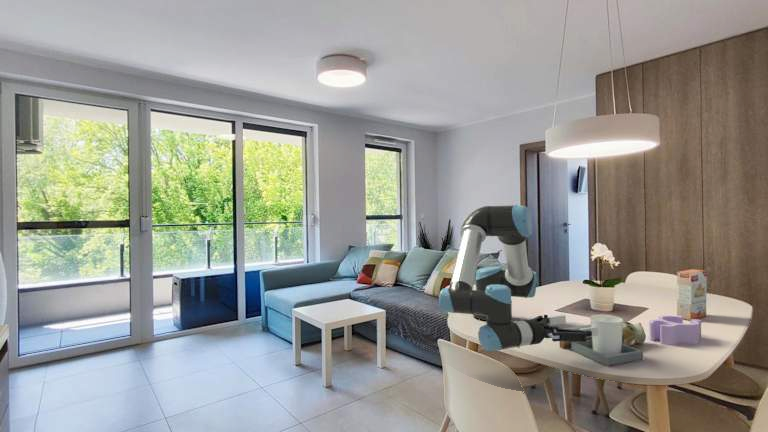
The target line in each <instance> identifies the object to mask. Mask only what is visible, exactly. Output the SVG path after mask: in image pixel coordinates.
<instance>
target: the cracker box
mask: <svg viewBox="0 0 768 432" xmlns="http://www.w3.org/2000/svg"><path fill="white" fill-rule="evenodd" d="M707 271H708V270H707ZM707 271H706V270H703V269H696V268H695V269H693V268H691V269H686V270H680V271H677V273H676V275H677V277H676V278H677V279H676V285H677V286H676V287H677V288H676V289H677V290H676V292H677V293H676V294H677V295H676V316H678V315H681V316H682V317H683V320H686V321H691V319H696V320H699V319H701V318H704V316H705V317H707V285H708V284H707V275H708V274H707Z"/></svg>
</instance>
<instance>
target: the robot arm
mask: <svg viewBox="0 0 768 432" xmlns="http://www.w3.org/2000/svg"><path fill="white" fill-rule="evenodd" d="M459 233H460V234H459V235H460V238H461V239H460V244H459V248H458V251H457V255H456V259H455V262H454V265H453V266H454V267H453V271H452V275H451V280H450V283H449V287H446V288H445V287H444V288H442V289H441V290H440V292H439V295H438V305H439V308H440V310H441V311H442V312H446V313H451V314H463V315H464V314H465V315H472V317H473V316H474V317H476V318H478V319H482V320H486V321H485V322H486V323H485V324H484V325H482V326H480V327H479V328H478V332H477V336H478V338H477V339H478V341H479V344H480V346H481V347H482V349H483V350H485V351H487V352H490V351H491V352H492V351H501V350H506V349H511V348H512V349H513V348H518V349H520V348H521V347H524V346H532V345H539V344H541V343H542V341H544V339H552V340H551V341H552V342H560V341H581V342H586V338H587V337H593V336H598V327H589V328H582V329H579V330H572V329H561V328H560V327H558V326H557V325H562V324H563V325H564V324H566V323H567V321H566V317H567V316H566V315H565V314H561V315H553V316H549V317H548V314H544V315H538V316H536V317H534V318H532V319H525V320H517V321H513V319H512V318H513V317H512V316H513V315H512V312H513V311H512V305H513V304H512V303H513V302H512V301H513V300H512V297H515V298H525V299H528V298H531V299H532V298H534V297H535V296H536V292H537V278H538V276H537V275H538V274H537V272H536V271H533V270H532V269H531V267H530V266H529V261H528V253H527V245H526V244H527V242H526V241H527V239H528V238H529V237H531V236H532V234H533V222H532V215H531V211H530V209H529V208H528V206H526V205H518V204H515V205H513V204H512V205H493V206H492V205H491V206H490V205H487V206H486V205H485V206H481V207H478V208H477V209H475V210H474V211H472V212H471V213H470V214H469V215H468V216H467V217H466V218H465V220H464V221H463V223H462V225H461V228H460V232H459ZM487 237H497V239H498V241H500V243H502V246H503V251H504V252H503V253H504V257H505V262H506V269H505V270H504V269H503V268H502V266H487V267H481V268H479V269H478V265H479V259H480V255H481V254H480V253H481V249H482V245H483V242H485V240H486V238H487ZM474 284H475V285H476V287H475V290H474ZM474 317H473V318H474ZM478 319H477V320H478ZM482 320H481V321H482Z"/></svg>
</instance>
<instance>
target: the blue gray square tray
mask: <svg viewBox="0 0 768 432" xmlns="http://www.w3.org/2000/svg"><path fill="white" fill-rule="evenodd" d="M570 349H571V351H572V352H574V353H576V354H578V355H580V356H583V357H584V358H587V359H590V360H592V361H594V362H597V363H599V364H601V365H603V366H605V367H606V368H607V367H613V366H619V365H624V364H629V363H635V362H640V361H641V362H642V361H644V351H643V350H641V349H637V348H635V347H630V346H627V345H624V344H622V348H621V354H615V355H610V356H606V355H604V354H601V353H599V352H596V351H594V350H593V345H592V339H589V340H586V342H581V341H576V342H571V348H570Z"/></svg>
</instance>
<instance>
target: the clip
mask: <svg viewBox="0 0 768 432" xmlns="http://www.w3.org/2000/svg"><path fill="white" fill-rule="evenodd" d="M683 320H684V319H683V317H682V316H681V315H678V316H677V315H659V316H658V317H657V319H651V320H649V321H648V340H649V341H650V342H655V340H657V339H659V340H660V342H659V343H660V345H662V346H663V345H664V346H665V345H667V346H674V344H675V345H676V343H677V344H696V343H695V342H697V343H699V342H700V339H702V320H701V319H691V320H690V323H684V321H683Z"/></svg>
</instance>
